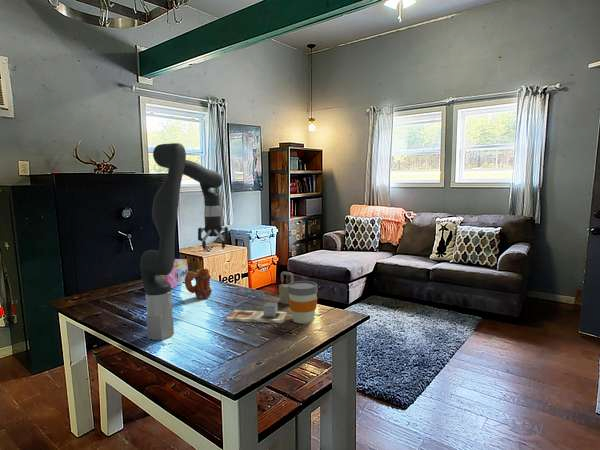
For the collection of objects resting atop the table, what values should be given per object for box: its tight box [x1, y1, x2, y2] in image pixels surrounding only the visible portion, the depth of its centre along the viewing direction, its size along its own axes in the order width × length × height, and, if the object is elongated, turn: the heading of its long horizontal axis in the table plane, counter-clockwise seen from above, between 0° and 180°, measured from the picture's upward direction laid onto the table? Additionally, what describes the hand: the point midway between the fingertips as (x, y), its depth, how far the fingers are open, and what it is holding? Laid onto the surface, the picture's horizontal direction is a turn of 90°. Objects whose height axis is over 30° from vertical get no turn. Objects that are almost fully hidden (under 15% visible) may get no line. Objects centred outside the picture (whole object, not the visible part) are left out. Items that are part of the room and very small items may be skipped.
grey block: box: [262, 302, 279, 319], centre depth 161 cm, size 5×5×6 cm
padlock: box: [278, 271, 295, 305], centre depth 181 cm, size 4×8×15 cm, turn 53°
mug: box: [184, 268, 213, 299], centre depth 190 cm, size 15×8×15 cm, turn 141°
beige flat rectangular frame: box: [225, 309, 288, 324], centre depth 162 cm, size 24×10×1 cm, turn 80°
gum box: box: [160, 257, 189, 288], centre depth 217 cm, size 24×8×14 cm, turn 167°
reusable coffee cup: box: [287, 280, 318, 324], centre depth 158 cm, size 13×12×15 cm
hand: (214, 248), depth 182 cm, fingers open, 8 cm apart
